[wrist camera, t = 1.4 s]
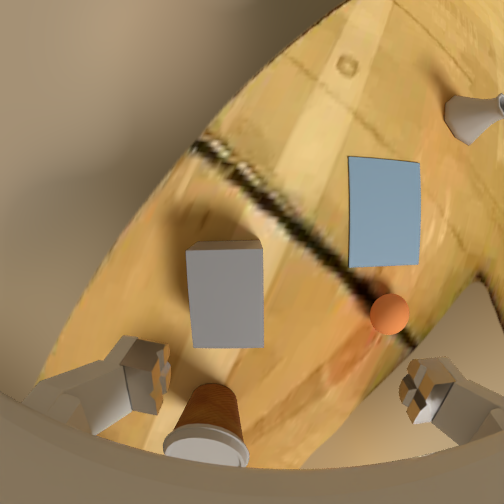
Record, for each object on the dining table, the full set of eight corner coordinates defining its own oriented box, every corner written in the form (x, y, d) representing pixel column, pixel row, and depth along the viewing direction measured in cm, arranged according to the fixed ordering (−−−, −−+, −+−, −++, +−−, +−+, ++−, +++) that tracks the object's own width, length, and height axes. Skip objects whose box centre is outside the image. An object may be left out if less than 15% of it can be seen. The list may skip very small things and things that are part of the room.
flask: (437, 121, 31) (482, 104, 21) (450, 88, 30) (492, 67, 21) (469, 154, 32) (516, 147, 22) (481, 120, 31) (525, 108, 21)
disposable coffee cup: (174, 414, 37) (155, 472, 26) (188, 364, 36) (167, 423, 24) (237, 431, 38) (234, 492, 26) (258, 384, 37) (262, 447, 25)
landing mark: (417, 264, 34) (418, 264, 34) (348, 267, 34) (349, 267, 34) (418, 163, 32) (419, 163, 32) (348, 156, 32) (348, 156, 32)
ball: (395, 323, 36) (412, 338, 31) (362, 327, 35) (377, 343, 31) (400, 287, 35) (419, 299, 30) (365, 290, 35) (382, 302, 30)
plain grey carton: (261, 321, 35) (263, 347, 28) (202, 322, 35) (193, 347, 28) (259, 240, 34) (262, 248, 27) (198, 241, 33) (185, 250, 27)
